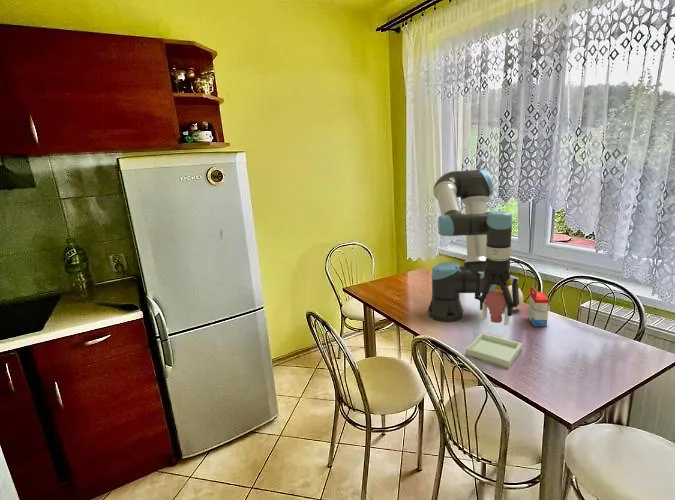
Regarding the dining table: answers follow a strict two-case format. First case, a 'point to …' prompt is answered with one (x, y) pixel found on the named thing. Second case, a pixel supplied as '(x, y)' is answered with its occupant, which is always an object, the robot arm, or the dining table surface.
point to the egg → (519, 297)
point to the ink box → (538, 308)
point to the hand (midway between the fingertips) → (495, 321)
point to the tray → (494, 350)
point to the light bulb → (495, 305)
